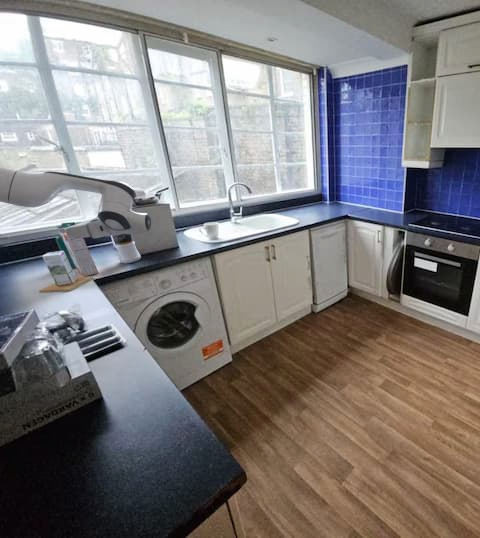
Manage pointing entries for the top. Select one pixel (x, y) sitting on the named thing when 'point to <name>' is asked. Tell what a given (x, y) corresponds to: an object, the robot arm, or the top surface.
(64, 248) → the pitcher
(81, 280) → the cork mat
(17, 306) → the top surface
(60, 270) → the syrup box
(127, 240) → the vodka
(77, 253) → the cracker box
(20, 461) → the top surface
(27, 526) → the top surface
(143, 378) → the top surface
